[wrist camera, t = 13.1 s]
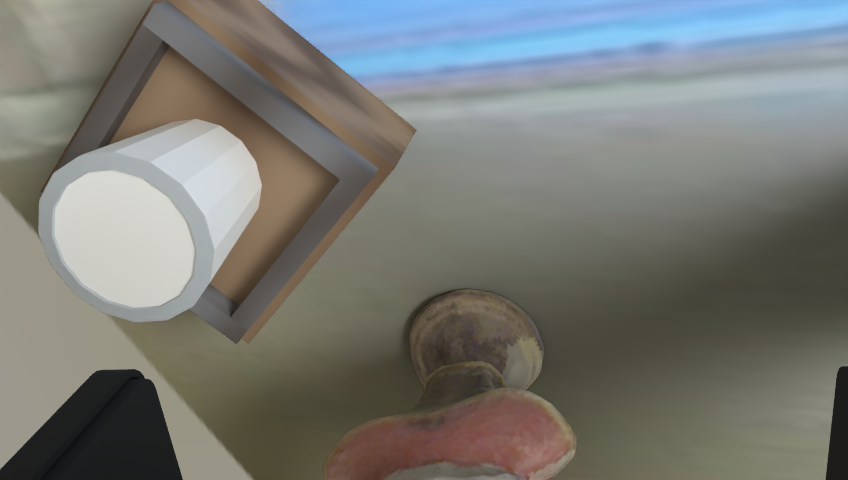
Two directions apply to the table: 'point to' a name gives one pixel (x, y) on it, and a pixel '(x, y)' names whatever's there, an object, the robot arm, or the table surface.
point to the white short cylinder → (149, 218)
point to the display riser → (253, 137)
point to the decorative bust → (465, 403)
